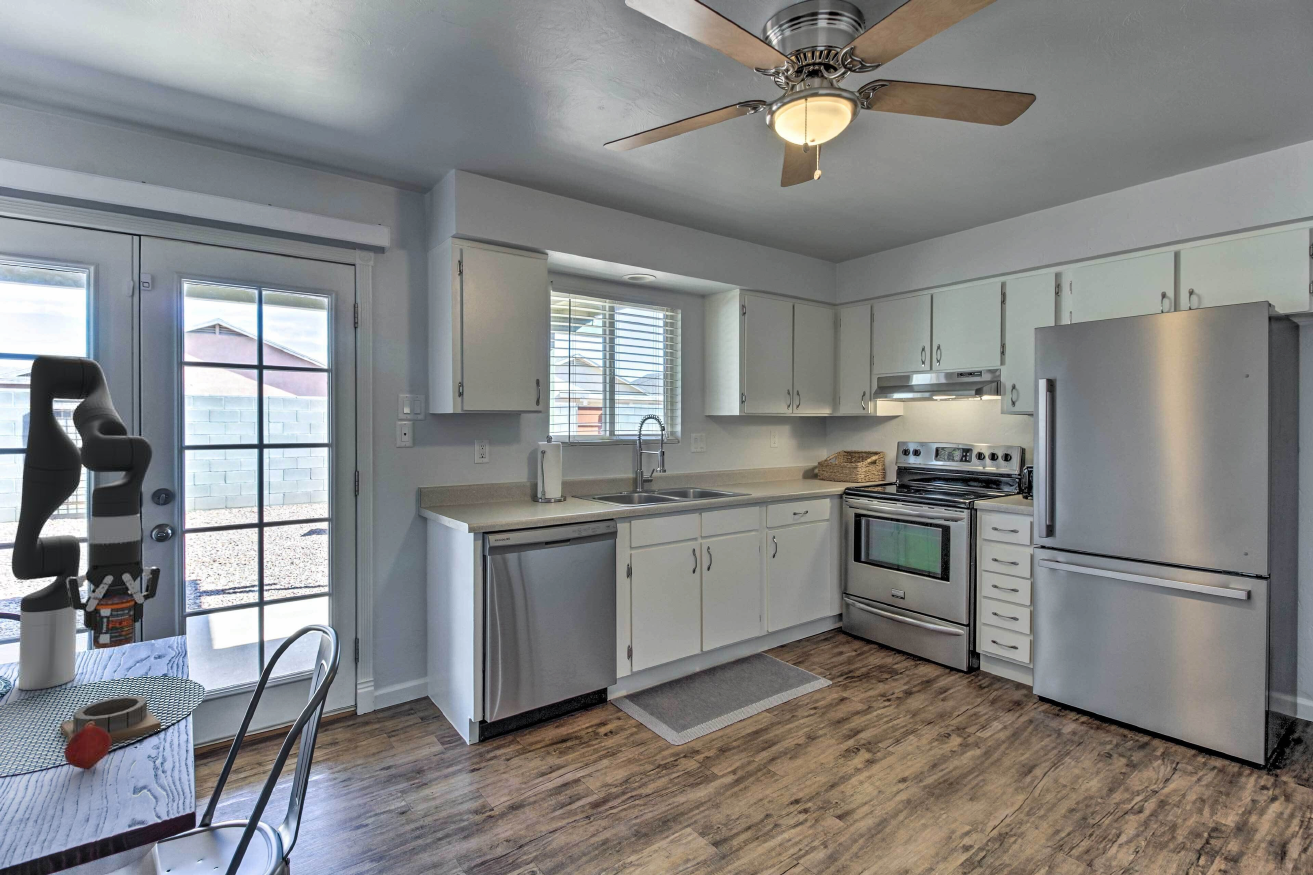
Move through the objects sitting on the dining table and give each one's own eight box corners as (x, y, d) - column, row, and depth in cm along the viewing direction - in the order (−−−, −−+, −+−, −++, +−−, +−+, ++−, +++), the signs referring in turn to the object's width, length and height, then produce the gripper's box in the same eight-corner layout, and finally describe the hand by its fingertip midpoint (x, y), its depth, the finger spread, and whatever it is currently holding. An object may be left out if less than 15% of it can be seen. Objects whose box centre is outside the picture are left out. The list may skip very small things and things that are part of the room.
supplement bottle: (109, 650, 117) (110, 589, 117) (84, 648, 118) (85, 588, 118) (141, 640, 123) (142, 583, 123) (117, 638, 124) (118, 581, 124)
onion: (71, 781, 102) (72, 733, 102) (59, 771, 105) (60, 724, 105) (116, 766, 107) (117, 719, 107) (103, 756, 110) (104, 711, 110)
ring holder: (60, 730, 120) (60, 706, 120) (139, 709, 129) (140, 688, 129) (77, 753, 111) (77, 728, 111) (160, 729, 121) (161, 706, 121)
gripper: (155, 532, 129) (154, 614, 129) (60, 541, 117) (58, 630, 117) (167, 536, 124) (165, 621, 124) (69, 545, 113) (67, 638, 113)
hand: (113, 625), depth 121 cm, fingers closed on supplement bottle, 6 cm apart
